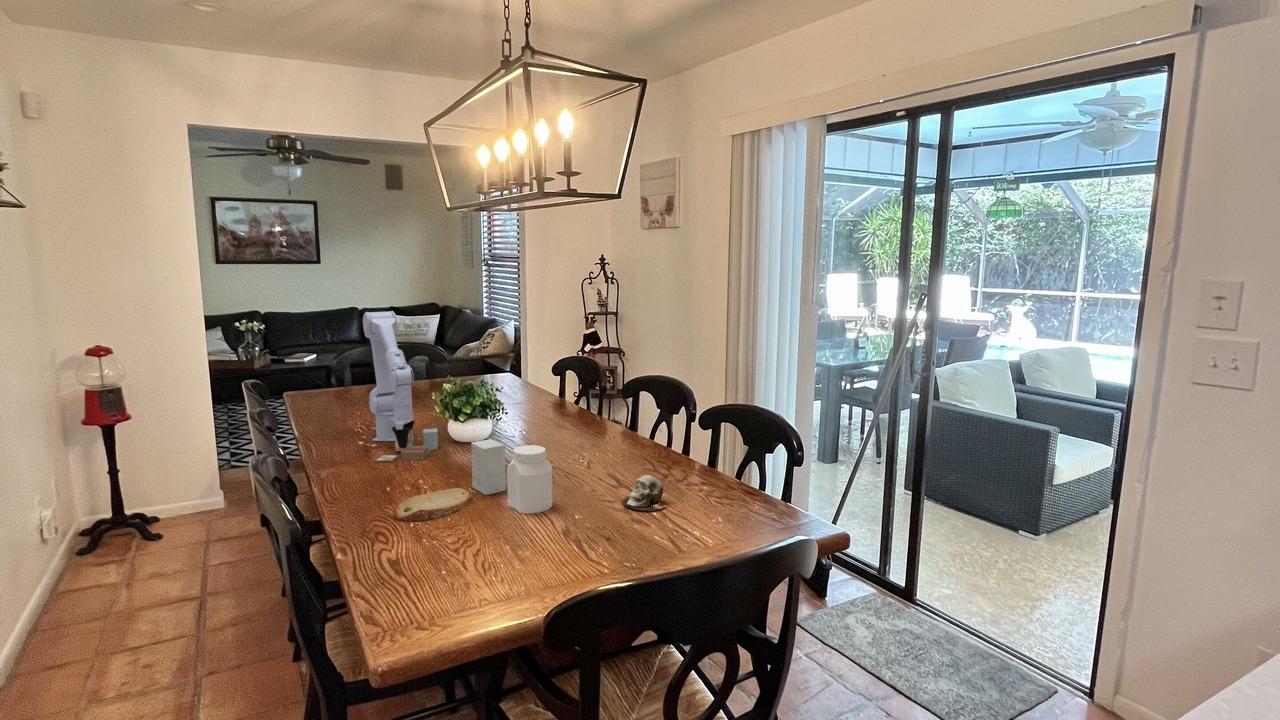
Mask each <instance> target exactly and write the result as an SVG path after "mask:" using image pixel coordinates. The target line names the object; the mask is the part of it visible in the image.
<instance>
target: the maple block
mask: <svg viewBox="0 0 1280 720" xmlns="http://www.w3.org/2000/svg"><path fill="white" fill-rule="evenodd" d="M394 446H395V447H394V448H395V452H396V451H402V450H403V449H405V448H399V445H398V441H397V438H396V435H395V441H394ZM407 446H415V444H414V430H413V429H412V430H410V431H409V434H408V441H407Z"/></svg>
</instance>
